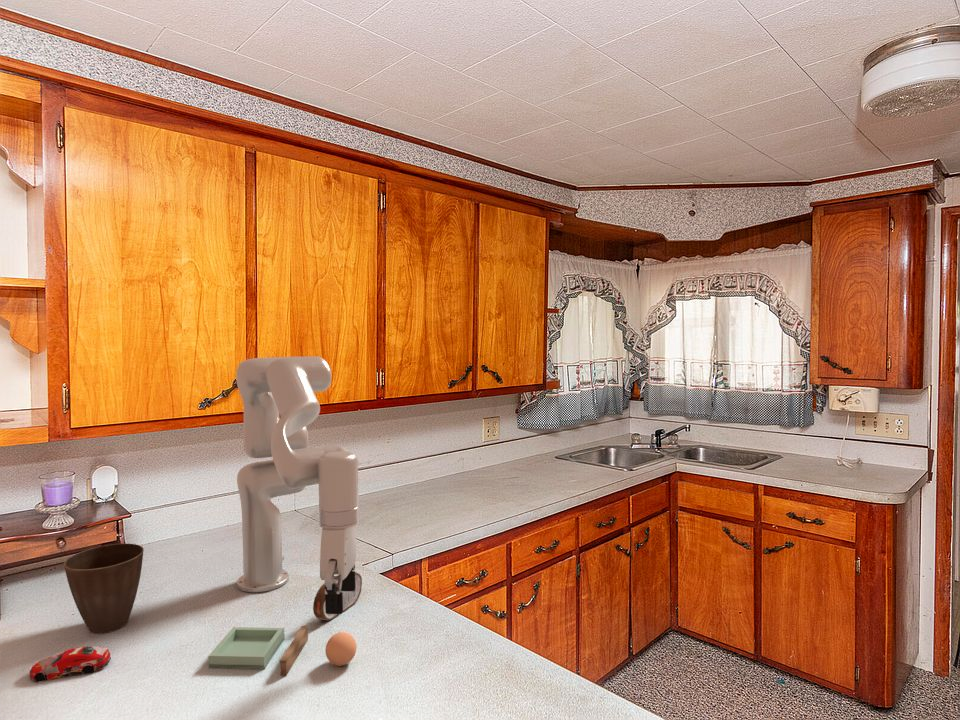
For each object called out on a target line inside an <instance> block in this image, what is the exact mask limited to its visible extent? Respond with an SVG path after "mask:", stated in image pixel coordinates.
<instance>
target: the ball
mask: <svg viewBox="0 0 960 720" xmlns="http://www.w3.org/2000/svg"><path fill="white" fill-rule="evenodd" d="M356 653H357V641H356V639H355V638H354V636H353V635H351V634H350V633H348V632H345V631H342V632H341V631H340V632H337V633H336V632H335V634H333V635H332V636H331V637H330V638H329V639H328V640H327V642H326V645H325V656H326V658H327V660H328V661H329V663H331V664H332V665H334V666H337V667H341V666H345V665H348V663H349V664H350V662H351V661H352V660H353V659H354V658H355V655H356Z"/></svg>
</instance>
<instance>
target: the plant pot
mask: <svg viewBox="0 0 960 720" xmlns="http://www.w3.org/2000/svg"><path fill="white" fill-rule="evenodd" d="M144 549H145V548H144V547H143V546H142V545H139V544H136V543H114V544H113V543H112V544H106V545H100V546H96V547H92V548H89V549H85V550H83V551H80V552H78V553H75V554H72V555H70V557H68V558H67V559H66V560H65V561H64V563H63V566H64V571H65V575H66V579H67V583H68V586H69V589H70V592H71V595H72V599H73V601H74V604H75V606H76V608H77V610H78V612H79V614H80V617H81V619H82V621H83V622H84V625H85V626H86V628H87V629H88V631H89V632H90V633H92V634H96V635H97V634H99V635H100V634H106V633H107V634H108V633H111V632H114V631H117V630H119V629H121V628H123V627H125V626H126V625H127V623H128V622H129V619H130V616H131V614H132V610H133V608H134V605H135V600H136V598H137V593H138V589H139V585H140V579H141V574H142V566H143V559H144Z"/></svg>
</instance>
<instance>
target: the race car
mask: <svg viewBox="0 0 960 720" xmlns="http://www.w3.org/2000/svg"><path fill="white" fill-rule="evenodd" d="M111 658H112V657H111V652H110V649H109V647H105V646H102V647H101V646H88V645H87V646H79V647H73V648H70V649H67V650H64V651H63V652H61V653H59V654H57V655H53V656H49V657H46V658H44V659H41V660H40V661H38V662H36V663H34V664H33V665H32V667H31V668H30V670H29V673H28V674H29V677H30V680H31V681H33V682H34V681H35V682H36V683H39V682H45V681H46V680H47V681H48V680H53V679H60V678H66V677H67V678H68V677H71V676H79V675H82V674H83V675H88V674H93V673H94V672H98V671H100V670H102V669H105V667H106V666H108V665H109V663H110V660H111Z"/></svg>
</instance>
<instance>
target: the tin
mask: <svg viewBox="0 0 960 720" xmlns="http://www.w3.org/2000/svg"><path fill="white" fill-rule="evenodd" d="M337 576H339V575H337ZM362 581H363V578H362V576H361V574H360V573H359V572H356V571H355V586H356V589H355V591H341V592H343V612H342V613H344V612H345V611H347V610H349V609H350V608H352V607H353V606H354V605H355V604H356V603H357V601H358V600H359V598H360V596H361V593H362V586H363V584H362V583H363V582H362ZM333 583H335V584H336V586H337V585H338V581H334V582H333ZM312 604H313V605H312V611H313V615H314V616H315V618H316V619H321V620H323V621H331V620H333V619H335V618H336V617H338V616H339V615H340V614H326V610H325V582H324V583H323V584H322V585H321V586H320V587H319V589H318V590H317V592H316V594H315V596H314V601H313V603H312Z"/></svg>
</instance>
